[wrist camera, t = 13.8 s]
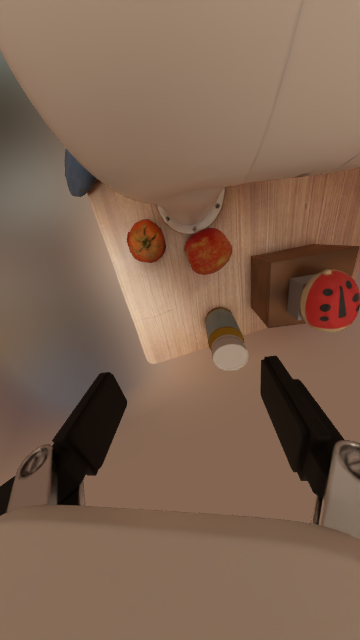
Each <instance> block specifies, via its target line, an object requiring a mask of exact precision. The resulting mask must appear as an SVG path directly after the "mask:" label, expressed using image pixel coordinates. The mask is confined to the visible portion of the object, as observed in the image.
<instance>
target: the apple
mask: <svg viewBox="0 0 360 640" xmlns="http://www.w3.org/2000/svg"><path fill="white" fill-rule="evenodd" d="M184 249H185V253H186V255H187V257H188V260H189V262H190V264H191V267H192V269H193V270H194V271H195V272H196V273H198V274H202V275H206V274H211V273H214V272H216V271H218V270H220V269H221V268H222V267H223V266H224V265H225V264H226V263H227V262H228V260H229V259H230V257H231V254H232V246H231V244H230V242H229V241H228V240H227V238H226V236H225V235H224V234H223V233H222V232H221V231H219V230H218V229H214V228H207V229H203V230H201V231H199V232H197V233H195V234H194V235H192V236H191V237H190V238H189V239H188V241H187V242H186V244H185V247H184Z"/></svg>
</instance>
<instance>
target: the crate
mask: <svg viewBox="0 0 360 640" xmlns="http://www.w3.org/2000/svg"><path fill="white" fill-rule="evenodd" d="M358 250H359V246H343V245H322V244H312V245H307V246H302V247H297V248H292V249H287V250H282V251H277V252H272V253H267V254H262V255H257V256H252V257H251V291H252V309H253V310H254V311H255V313H256V314H257V315H258V316H259V317H260V319H261V320H262V321H263V322H264V324H265V325H266V326H267V327H268V328H273V327H280V326H288V325H296V324H305V323H306V322H305V321H304V320H297V319H295V318H294V317H293V316H292V315H290V314H289V313H288V312H287V305H288V295H289V285H290V278H296V277H302V276H307V275H313V274H318V273H320V272H322V271H324V270H326V269H330V270H332V269H333V270H339V271H342V272H344V273H346V274H348V275H349V276H351V277H352V273H353V269H354V265H355V262H356V258H357V254H358Z"/></svg>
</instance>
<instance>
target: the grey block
mask: <svg viewBox="0 0 360 640" xmlns="http://www.w3.org/2000/svg"><path fill="white" fill-rule="evenodd" d="M315 275H316V274H313V275H307V276H302V277H296V278H290V285H289V295H288V305H287V312H288V313H289V314H290V315H292V316H293V317H294V318H295V319H297V320H304V319H303V317H302V315H301V311H300V299H301V295H302V292H303V289H304V287H305V286H306V284H307V283H308V281H309V280H310V279H311V278H312V277H313V276H315ZM350 277H351V276H350Z"/></svg>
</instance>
